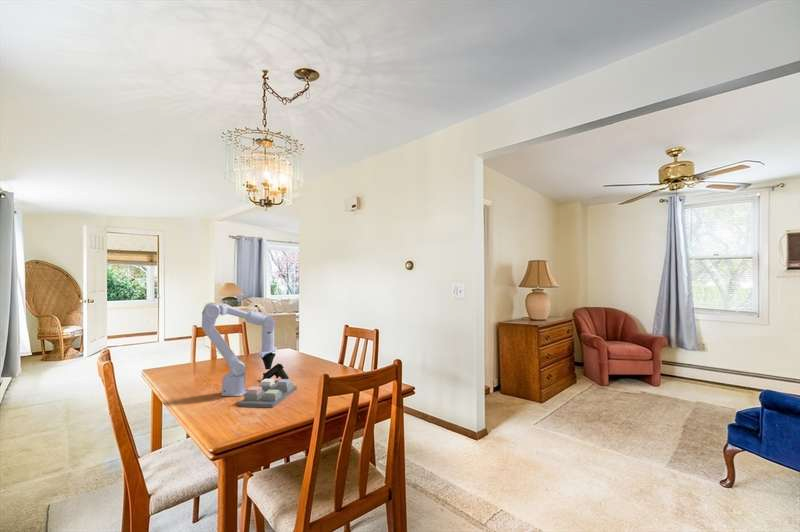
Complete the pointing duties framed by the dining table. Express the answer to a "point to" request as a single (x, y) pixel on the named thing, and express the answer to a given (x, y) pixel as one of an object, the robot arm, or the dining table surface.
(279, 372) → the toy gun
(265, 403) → the control console
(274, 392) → the sage button
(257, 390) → the rose button
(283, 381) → the slate button
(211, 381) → the dining table surface
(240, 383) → the robot arm
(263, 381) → the cream button
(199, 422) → the dining table surface
